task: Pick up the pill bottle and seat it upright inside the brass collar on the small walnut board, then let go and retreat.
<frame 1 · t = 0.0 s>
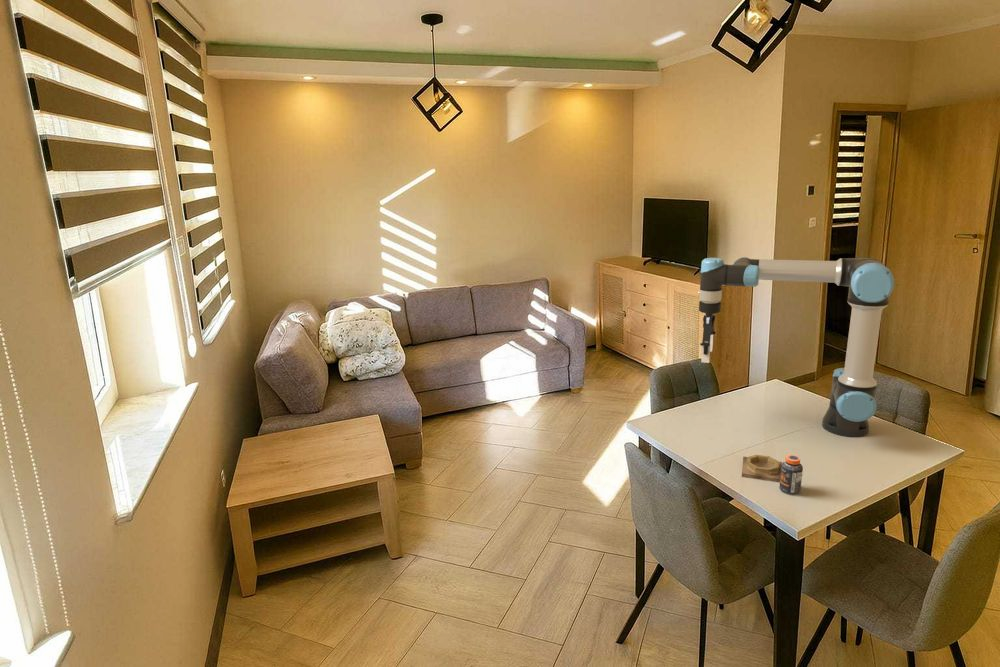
hand: (707, 356, 226), 28 cm above the table, fingers open, 13 cm apart
socket board: (761, 470, 199), on the table
pill bottle: (789, 490, 187), on the table
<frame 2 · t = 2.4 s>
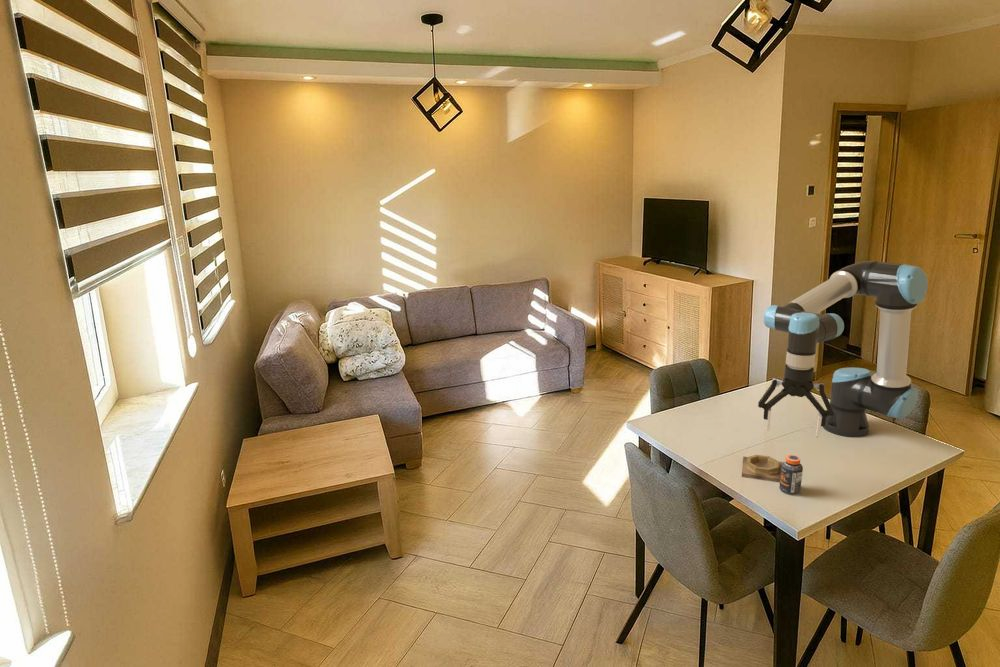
hand: (792, 432, 183), 19 cm above the table, fingers open, 13 cm apart
nothing on the table moved.
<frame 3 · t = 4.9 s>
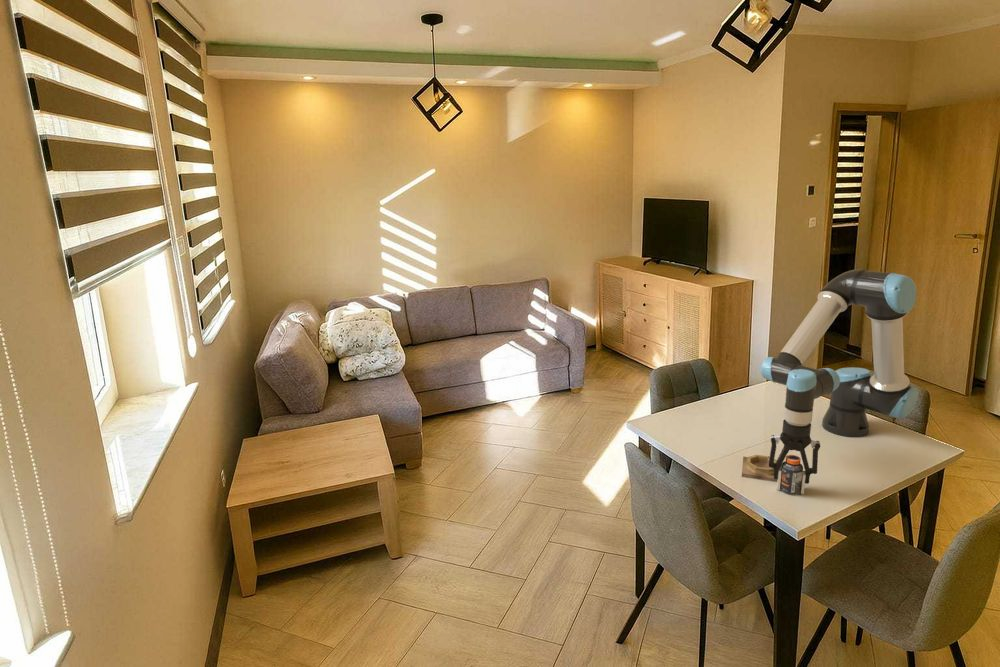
hand: (790, 489, 187), 0 cm above the table, fingers closed on pill bottle, 6 cm apart
pill bottle: (789, 490, 187), on the table, touching gripper
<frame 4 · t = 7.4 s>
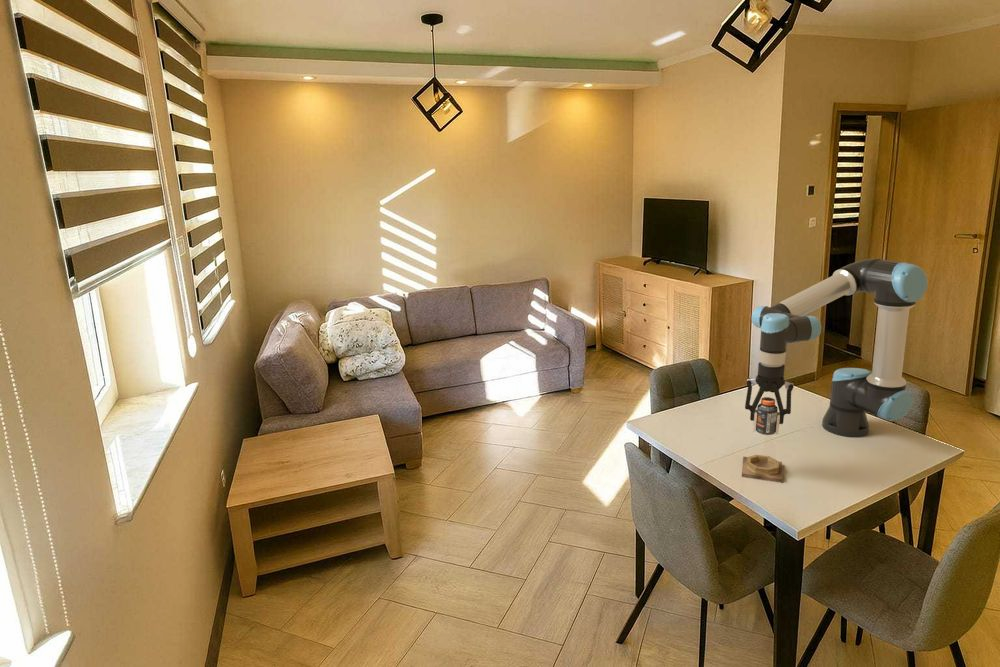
hand: (765, 430, 195), 14 cm above the table, fingers closed on pill bottle, 6 cm apart
pill bottle: (765, 432, 195), point 14 cm above the table, touching gripper
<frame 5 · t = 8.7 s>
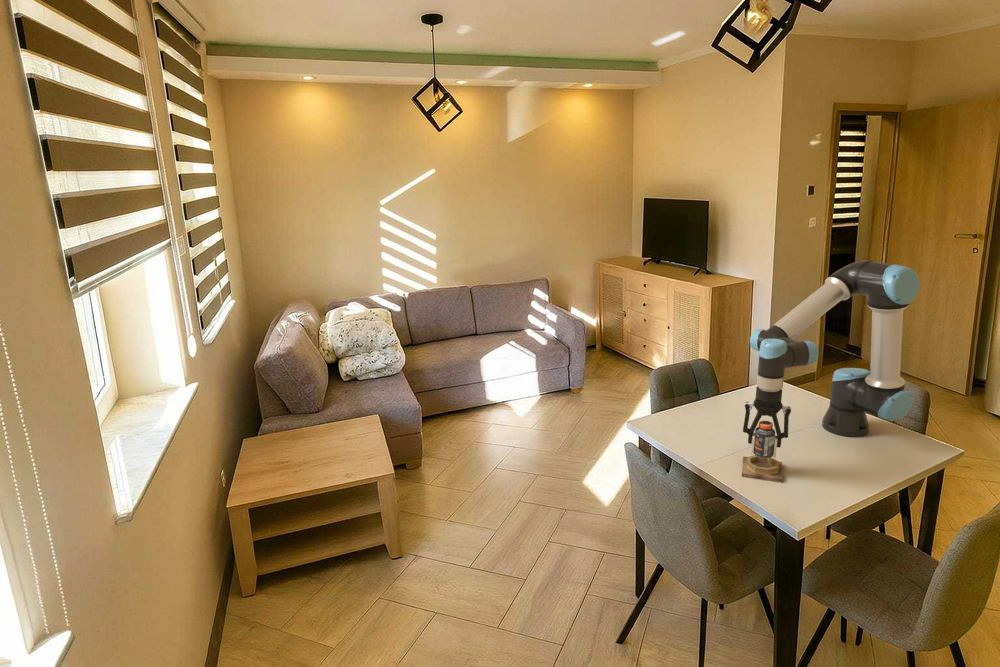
hand: (763, 453, 197), 6 cm above the table, fingers closed on pill bottle, 6 cm apart
pill bottle: (763, 455, 198), point 6 cm above the table, touching gripper
when the fingers open (4 cm above the table, at t = 9.5 s): pill bottle drops 2 cm, resting on socket board.
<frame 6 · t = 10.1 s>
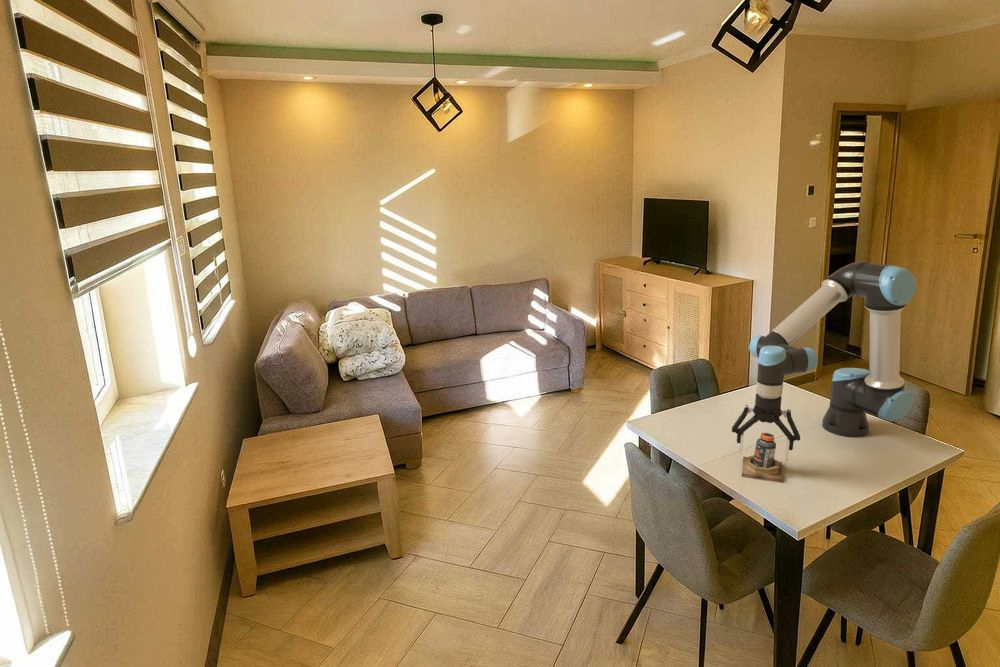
hand: (763, 455, 198), 6 cm above the table, fingers open, 13 cm apart
pill bottle: (762, 467, 199), point 1 cm above the table, touching socket board
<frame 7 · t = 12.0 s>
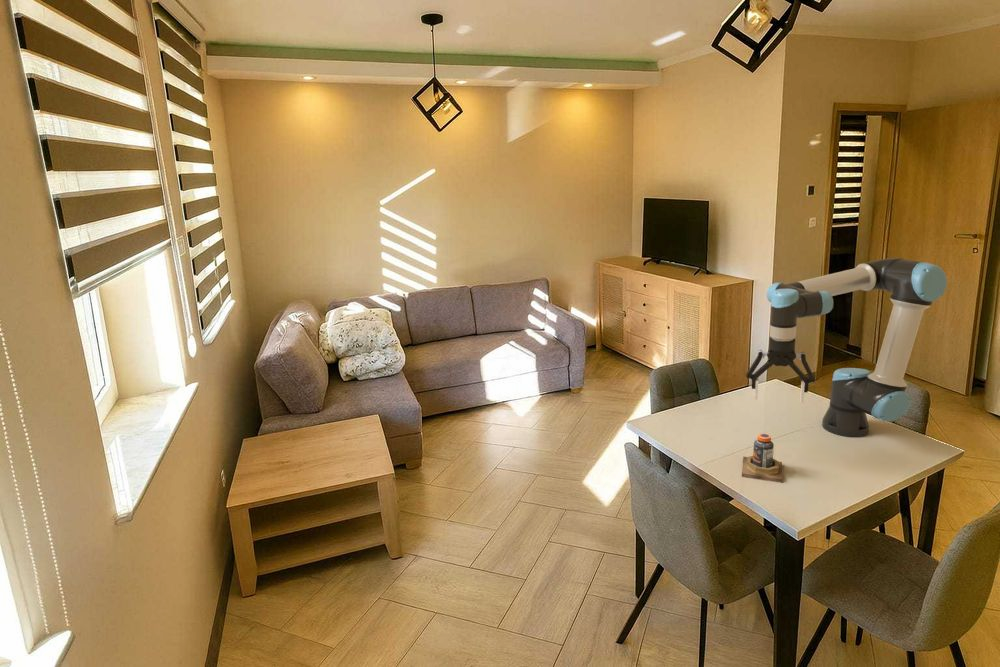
hand: (778, 399, 199), 22 cm above the table, fingers open, 13 cm apart
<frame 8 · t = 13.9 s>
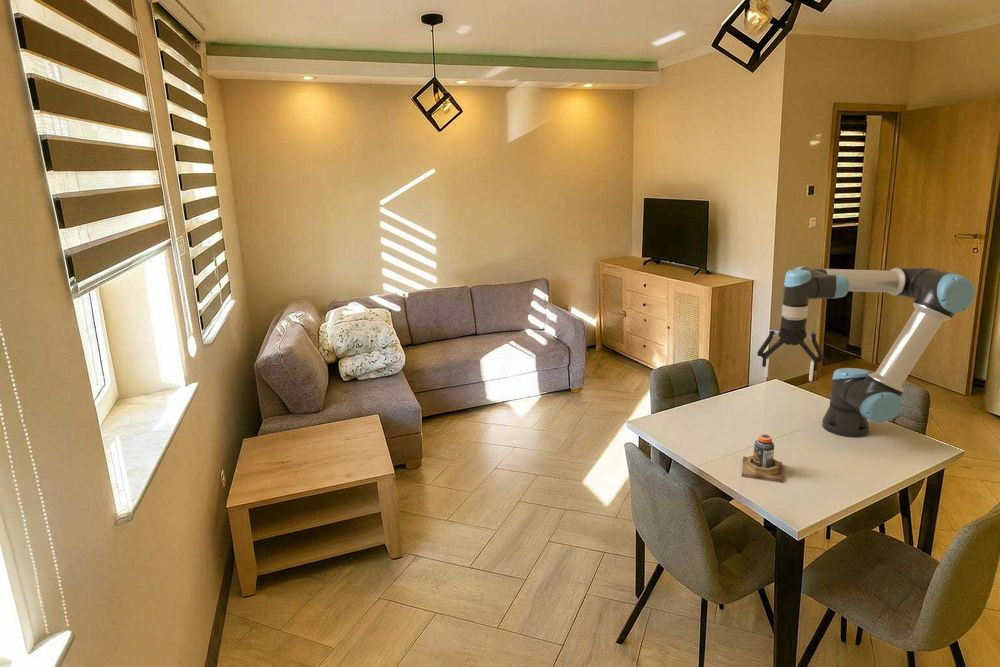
hand: (788, 377, 205), 27 cm above the table, fingers open, 13 cm apart
nothing on the table moved.
at the end: pill bottle 0.2 cm from the socket board (horizontally); pill bottle tilted 2°; pill bottle point 1.1 cm above the table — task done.
